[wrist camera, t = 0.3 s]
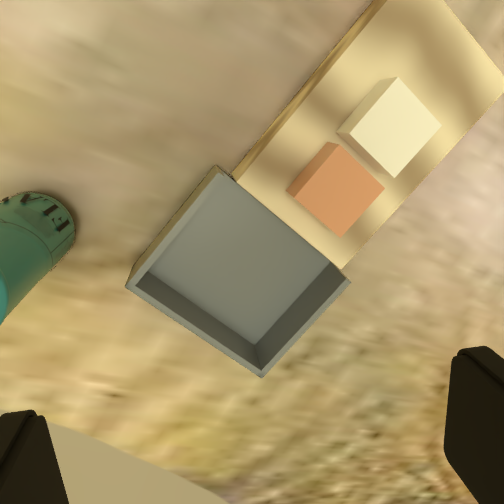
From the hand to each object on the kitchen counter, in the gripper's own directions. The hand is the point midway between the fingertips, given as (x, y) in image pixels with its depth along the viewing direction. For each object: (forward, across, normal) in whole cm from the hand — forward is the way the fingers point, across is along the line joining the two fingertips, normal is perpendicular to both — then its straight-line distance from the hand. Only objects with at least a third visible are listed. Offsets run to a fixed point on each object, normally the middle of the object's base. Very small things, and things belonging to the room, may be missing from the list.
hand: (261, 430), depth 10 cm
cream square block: (+25, -14, -5) cm, 29 cm away
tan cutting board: (+30, -13, -5) cm, 33 cm away
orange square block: (+25, -10, -1) cm, 27 cm away
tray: (+30, -2, +7) cm, 31 cm away
